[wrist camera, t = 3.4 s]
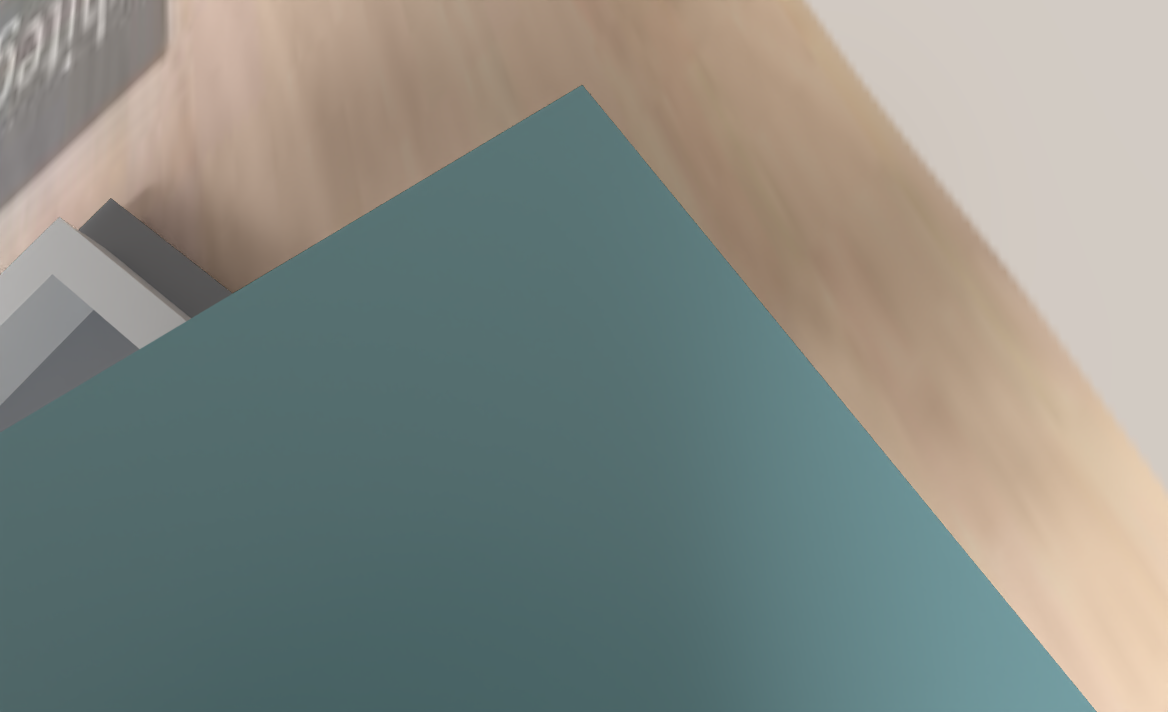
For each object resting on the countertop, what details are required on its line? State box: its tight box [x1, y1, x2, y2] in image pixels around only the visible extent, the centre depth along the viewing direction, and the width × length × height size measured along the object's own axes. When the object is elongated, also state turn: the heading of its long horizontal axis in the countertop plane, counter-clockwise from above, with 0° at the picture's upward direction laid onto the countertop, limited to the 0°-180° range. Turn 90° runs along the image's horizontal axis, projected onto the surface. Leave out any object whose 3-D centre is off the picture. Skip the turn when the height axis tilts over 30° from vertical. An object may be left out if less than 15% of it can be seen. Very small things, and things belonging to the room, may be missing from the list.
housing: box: [0, 85, 1096, 712], centre depth 9 cm, size 4×4×12 cm
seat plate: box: [0, 198, 233, 432], centre depth 16 cm, size 11×11×2 cm
